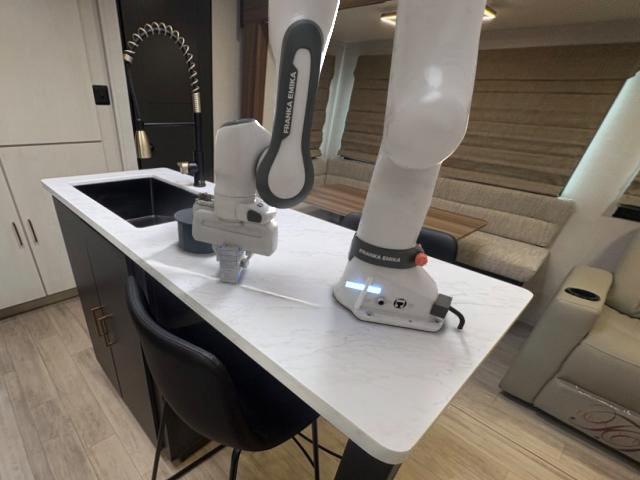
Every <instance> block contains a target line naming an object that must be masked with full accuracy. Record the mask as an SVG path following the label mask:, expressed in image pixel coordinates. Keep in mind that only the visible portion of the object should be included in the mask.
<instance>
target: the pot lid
mask: <svg viewBox="0 0 640 480" xmlns="http://www.w3.org/2000/svg"><path fill="white" fill-rule="evenodd" d="M193 217H194V215H193V207H188V208H184V209H180V210H178V211H176V212H174V214H173V219H174V220H175V222H177V223H178V222H179V223H181V224H184V225H189V226H192V224H193Z"/></svg>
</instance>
